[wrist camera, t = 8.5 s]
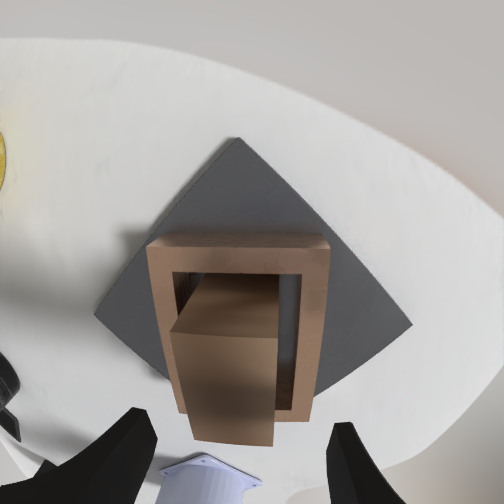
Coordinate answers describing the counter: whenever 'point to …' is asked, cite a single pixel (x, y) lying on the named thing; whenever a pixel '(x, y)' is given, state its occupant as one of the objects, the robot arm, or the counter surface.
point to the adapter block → (229, 357)
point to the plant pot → (2, 160)
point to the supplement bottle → (7, 382)
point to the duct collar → (257, 262)
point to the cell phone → (10, 423)
